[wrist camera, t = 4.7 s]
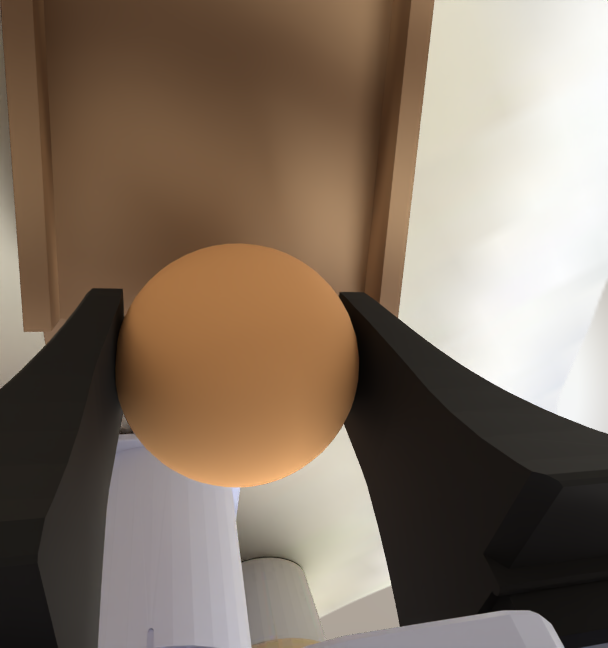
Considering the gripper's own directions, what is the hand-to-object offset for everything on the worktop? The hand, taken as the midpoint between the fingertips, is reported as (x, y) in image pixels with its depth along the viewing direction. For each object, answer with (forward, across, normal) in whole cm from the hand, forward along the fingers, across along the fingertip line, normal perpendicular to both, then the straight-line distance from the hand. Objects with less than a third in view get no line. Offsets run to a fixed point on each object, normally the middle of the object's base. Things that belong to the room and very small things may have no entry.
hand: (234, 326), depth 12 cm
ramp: (+8, 0, -4) cm, 9 cm away
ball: (-1, 0, 0) cm, 1 cm away
